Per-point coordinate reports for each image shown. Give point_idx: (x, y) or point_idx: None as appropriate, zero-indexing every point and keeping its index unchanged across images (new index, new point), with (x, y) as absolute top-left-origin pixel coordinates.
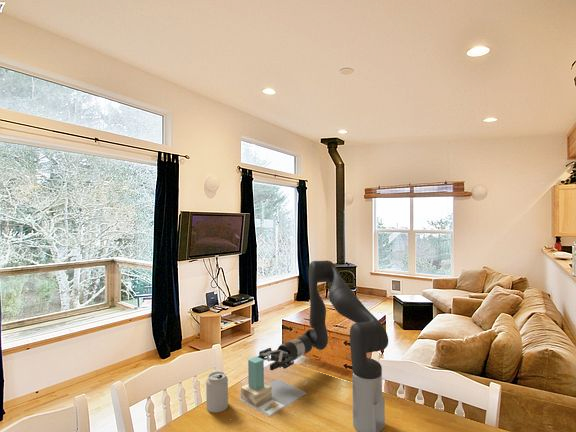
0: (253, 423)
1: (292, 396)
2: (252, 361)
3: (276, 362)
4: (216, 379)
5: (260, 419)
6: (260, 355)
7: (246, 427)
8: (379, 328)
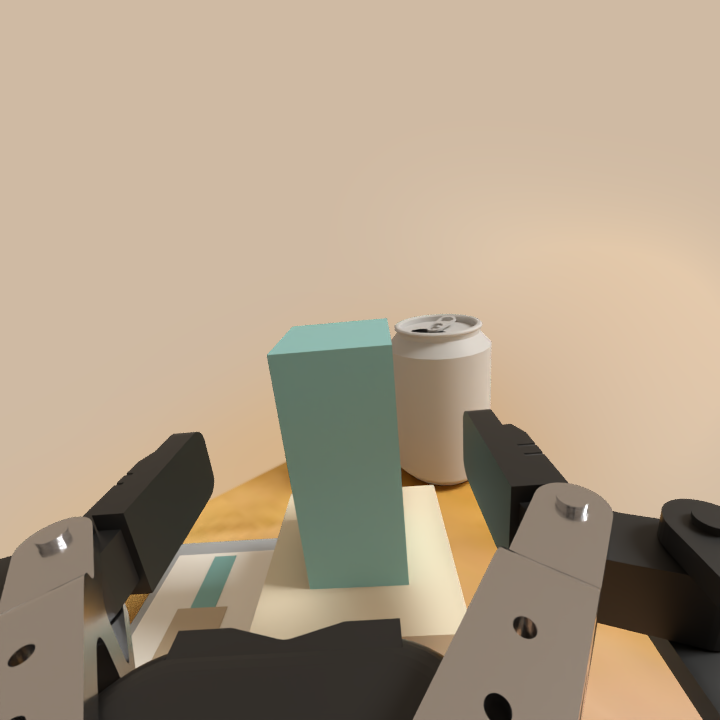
0: (242, 500)
1: None
2: (335, 324)
3: (121, 488)
4: (403, 320)
5: (226, 529)
6: (519, 462)
7: (255, 477)
8: None
